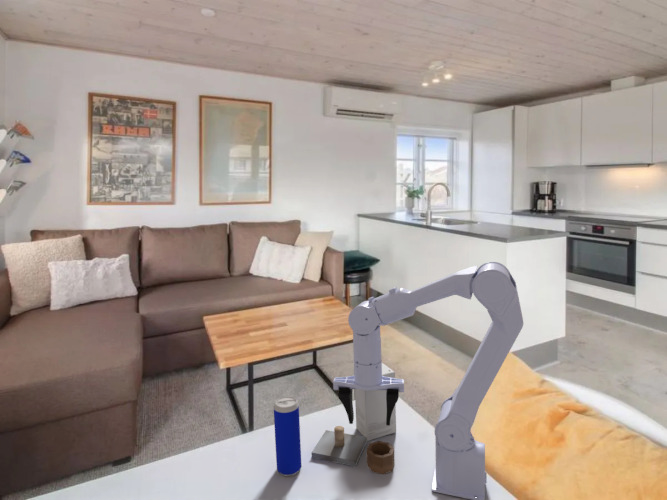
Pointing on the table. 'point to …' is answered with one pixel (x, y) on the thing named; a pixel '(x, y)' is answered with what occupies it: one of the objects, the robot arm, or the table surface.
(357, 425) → the skincare box
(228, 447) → the table surface
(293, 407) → the beverage can
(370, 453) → the walnut ring
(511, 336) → the robot arm
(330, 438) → the dowel stand
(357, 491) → the table surface
